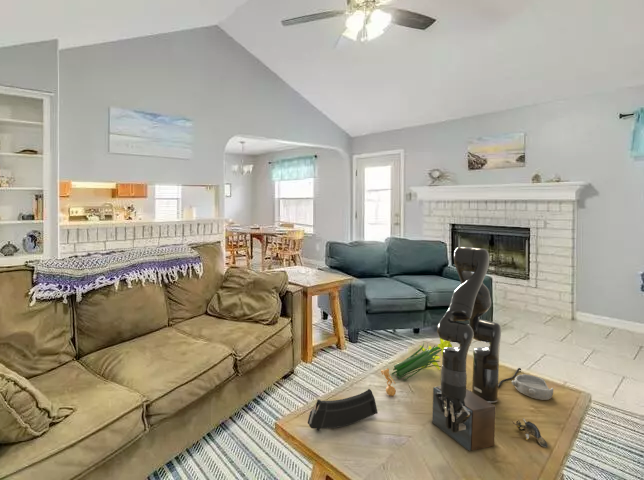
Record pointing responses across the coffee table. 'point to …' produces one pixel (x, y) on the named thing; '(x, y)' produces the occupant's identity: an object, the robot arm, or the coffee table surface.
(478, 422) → the cupboard
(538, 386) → the dish
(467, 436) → the cupboard door
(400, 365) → the daffodil flowers
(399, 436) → the coffee table surface
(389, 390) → the figurine
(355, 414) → the magazine
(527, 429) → the animal figure
